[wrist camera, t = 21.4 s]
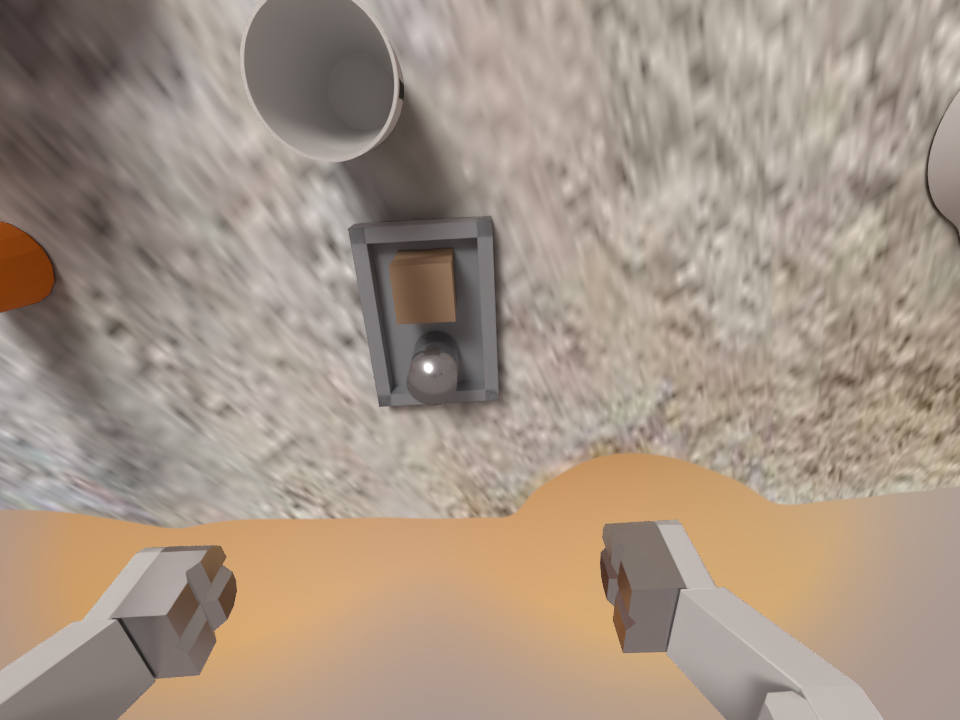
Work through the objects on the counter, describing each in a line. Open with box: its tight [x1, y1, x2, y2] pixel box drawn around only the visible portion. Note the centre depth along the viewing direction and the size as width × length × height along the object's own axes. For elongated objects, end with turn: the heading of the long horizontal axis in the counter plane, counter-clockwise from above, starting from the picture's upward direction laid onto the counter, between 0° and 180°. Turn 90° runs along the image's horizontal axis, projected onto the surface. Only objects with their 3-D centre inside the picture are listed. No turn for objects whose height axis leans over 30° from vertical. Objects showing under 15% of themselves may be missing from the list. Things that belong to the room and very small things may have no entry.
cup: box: [240, 0, 404, 162], centre depth 28 cm, size 8×8×10 cm
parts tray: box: [348, 216, 499, 407], centre depth 39 cm, size 11×16×2 cm
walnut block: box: [389, 248, 457, 325], centre depth 36 cm, size 4×4×5 cm
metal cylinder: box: [406, 331, 459, 405], centre depth 39 cm, size 4×4×6 cm
